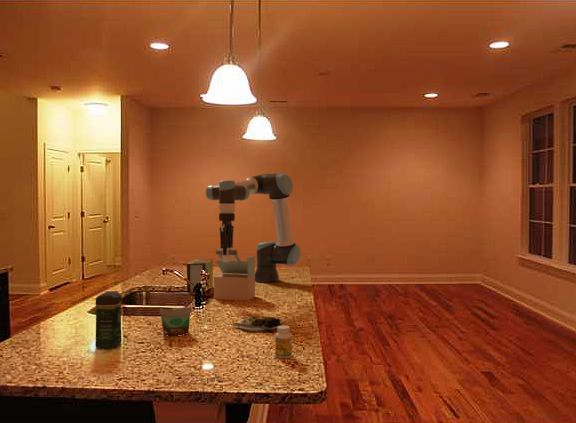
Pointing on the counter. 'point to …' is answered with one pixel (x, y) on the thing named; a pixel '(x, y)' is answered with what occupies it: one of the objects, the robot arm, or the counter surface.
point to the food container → (175, 321)
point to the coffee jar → (108, 320)
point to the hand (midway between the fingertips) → (226, 261)
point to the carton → (236, 284)
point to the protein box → (198, 272)
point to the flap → (232, 264)
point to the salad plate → (260, 324)
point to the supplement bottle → (283, 342)
